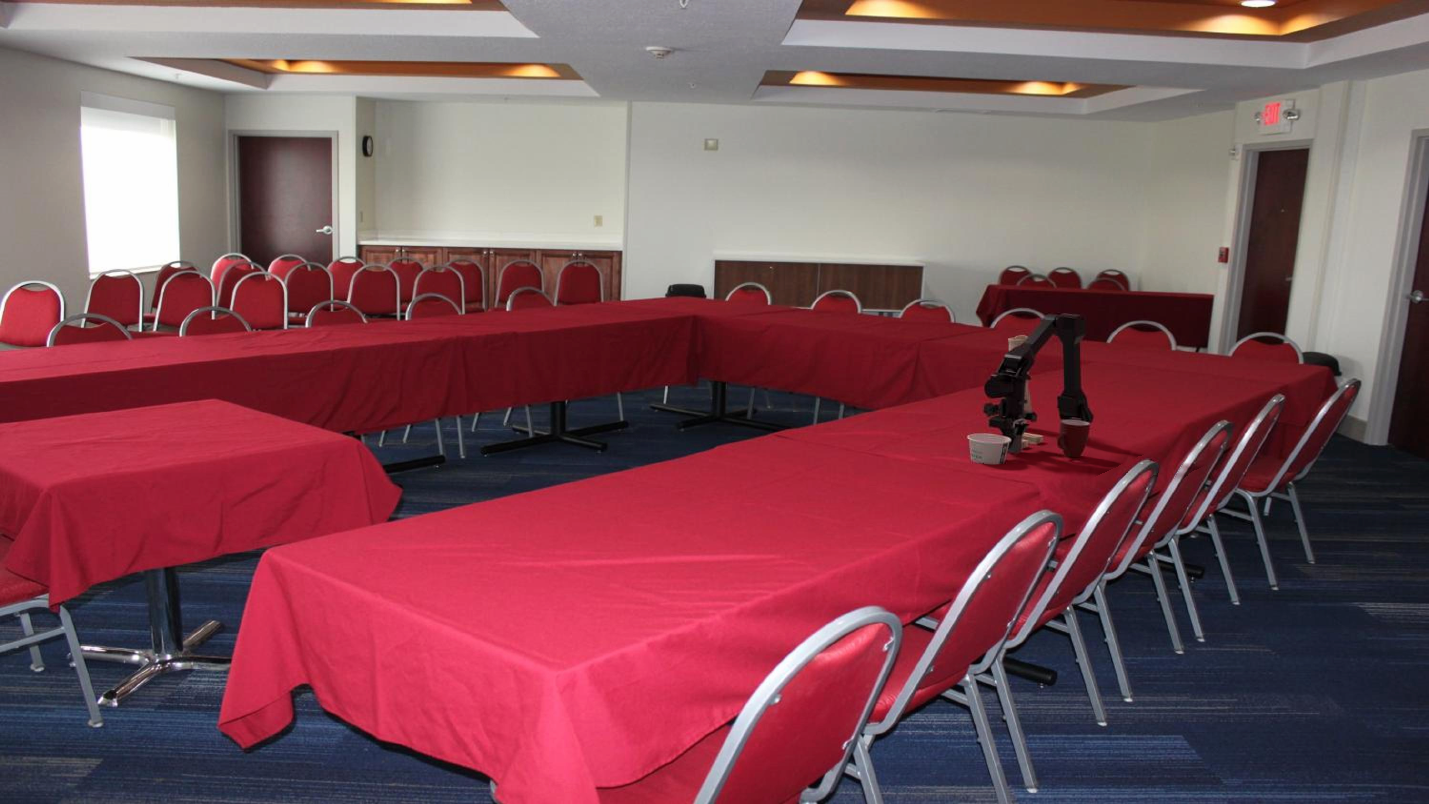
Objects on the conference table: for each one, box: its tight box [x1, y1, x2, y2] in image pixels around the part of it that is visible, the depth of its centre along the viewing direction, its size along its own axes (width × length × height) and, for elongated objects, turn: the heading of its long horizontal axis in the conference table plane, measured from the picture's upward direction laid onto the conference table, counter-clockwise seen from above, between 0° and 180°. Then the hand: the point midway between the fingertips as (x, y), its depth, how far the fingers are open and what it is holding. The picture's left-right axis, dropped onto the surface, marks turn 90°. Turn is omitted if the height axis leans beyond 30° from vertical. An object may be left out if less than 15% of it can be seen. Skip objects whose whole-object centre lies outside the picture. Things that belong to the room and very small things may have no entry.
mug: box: [1056, 419, 1091, 459], centre depth 306 cm, size 10×8×10 cm
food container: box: [967, 433, 1011, 465], centre depth 301 cm, size 12×12×6 cm
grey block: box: [1001, 433, 1022, 455], centre depth 312 cm, size 3×5×5 cm, turn 47°
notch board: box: [1021, 432, 1044, 450], centre depth 324 cm, size 14×9×2 cm, turn 136°
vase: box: [1007, 334, 1033, 424], centre depth 344 cm, size 9×8×30 cm
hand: (1010, 448), depth 312 cm, fingers closed on grey block, 3 cm apart
